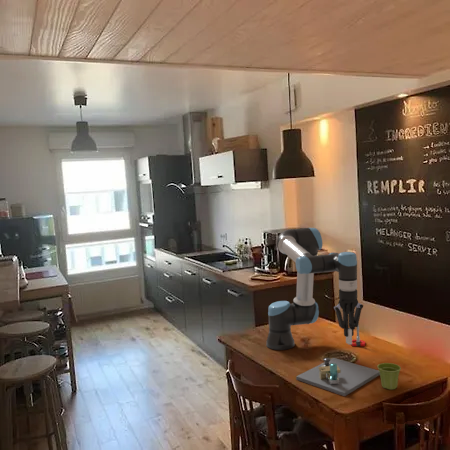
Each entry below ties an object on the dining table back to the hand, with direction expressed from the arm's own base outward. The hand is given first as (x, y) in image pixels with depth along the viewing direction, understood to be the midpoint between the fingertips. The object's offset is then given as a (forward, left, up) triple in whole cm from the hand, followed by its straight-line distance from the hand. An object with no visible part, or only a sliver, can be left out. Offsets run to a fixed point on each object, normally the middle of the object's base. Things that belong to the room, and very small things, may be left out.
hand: (348, 343), depth 202 cm
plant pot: (+13, +10, -19) cm, 25 cm away
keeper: (-9, -2, -17) cm, 20 cm away
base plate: (-9, +5, -19) cm, 21 cm away
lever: (-10, 0, -17) cm, 20 cm away
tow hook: (-25, +47, -19) cm, 57 cm away
